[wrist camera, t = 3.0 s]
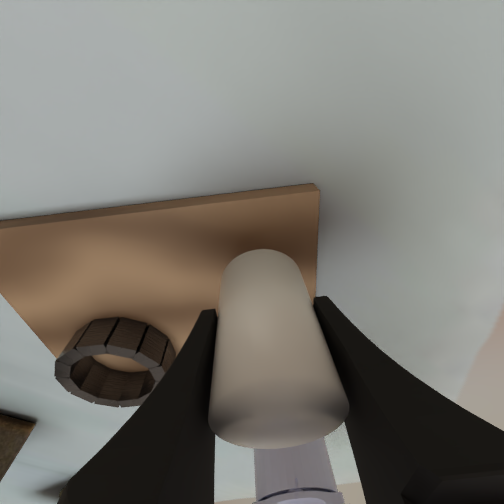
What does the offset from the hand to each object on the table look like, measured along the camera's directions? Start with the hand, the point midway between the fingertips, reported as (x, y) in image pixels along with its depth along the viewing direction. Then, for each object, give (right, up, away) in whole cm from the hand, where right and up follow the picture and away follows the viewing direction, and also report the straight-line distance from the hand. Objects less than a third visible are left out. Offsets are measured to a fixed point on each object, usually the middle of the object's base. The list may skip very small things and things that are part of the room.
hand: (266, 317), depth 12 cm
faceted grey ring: (-11, -5, +9) cm, 15 cm away
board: (-7, -1, +9) cm, 11 cm away
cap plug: (0, +1, +2) cm, 3 cm away
